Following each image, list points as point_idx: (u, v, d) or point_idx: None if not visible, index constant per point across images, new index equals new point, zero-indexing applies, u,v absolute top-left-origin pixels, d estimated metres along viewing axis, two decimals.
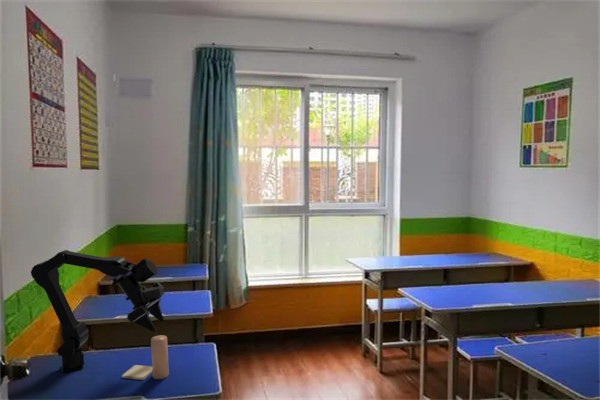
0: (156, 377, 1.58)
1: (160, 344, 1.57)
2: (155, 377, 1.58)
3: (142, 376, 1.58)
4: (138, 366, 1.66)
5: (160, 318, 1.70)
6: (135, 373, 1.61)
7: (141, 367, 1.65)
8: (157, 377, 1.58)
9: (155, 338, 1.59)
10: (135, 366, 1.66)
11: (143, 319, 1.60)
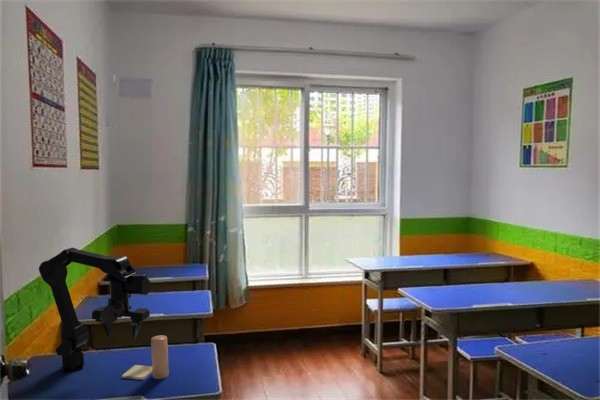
0: (156, 377, 1.58)
1: (160, 344, 1.57)
2: (155, 377, 1.58)
3: (142, 376, 1.58)
4: (138, 366, 1.66)
5: None
6: (135, 373, 1.61)
7: (141, 367, 1.65)
8: (157, 377, 1.58)
9: (155, 338, 1.59)
10: (135, 366, 1.66)
11: None
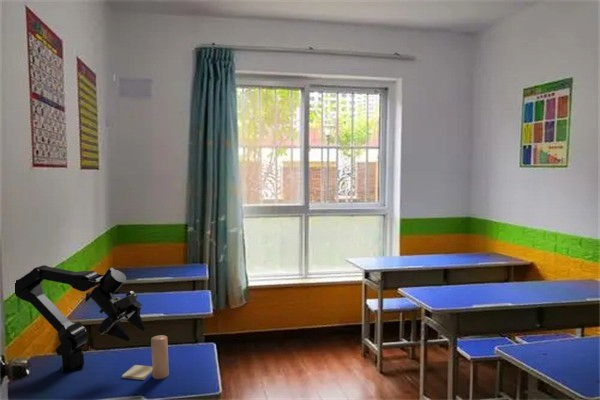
0: (156, 377, 1.58)
1: (160, 344, 1.57)
2: (155, 377, 1.58)
3: (142, 376, 1.58)
4: (138, 366, 1.66)
5: (141, 327, 1.66)
6: (135, 373, 1.61)
7: (141, 367, 1.65)
8: (157, 377, 1.58)
9: (155, 338, 1.59)
10: (135, 366, 1.66)
11: (116, 329, 1.56)
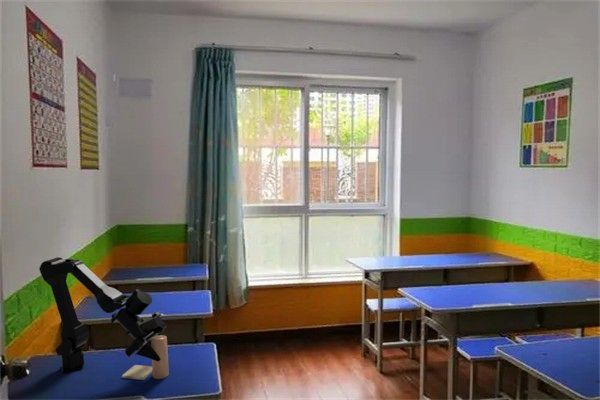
0: (156, 377, 1.58)
1: (160, 344, 1.57)
2: (155, 377, 1.58)
3: (142, 376, 1.58)
4: (138, 366, 1.66)
5: None
6: (135, 373, 1.61)
7: (141, 367, 1.65)
8: (157, 377, 1.58)
9: (155, 338, 1.59)
10: (135, 366, 1.66)
11: (146, 350, 1.56)
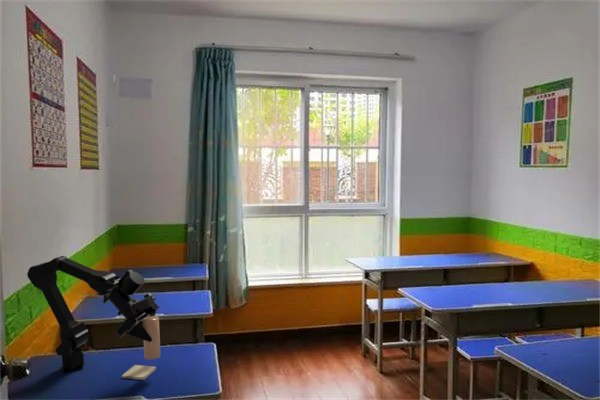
0: (148, 357, 1.58)
1: (152, 324, 1.57)
2: (147, 357, 1.58)
3: (142, 376, 1.58)
4: (138, 366, 1.66)
5: None
6: (135, 373, 1.61)
7: (141, 367, 1.65)
8: (148, 358, 1.58)
9: (147, 319, 1.59)
10: (135, 366, 1.66)
11: (137, 330, 1.56)
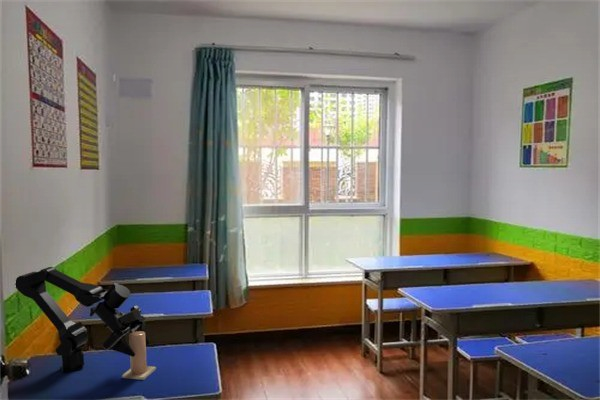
0: (134, 372, 1.60)
1: (138, 340, 1.59)
2: (133, 372, 1.60)
3: (142, 376, 1.58)
4: None
5: None
6: None
7: None
8: (135, 373, 1.60)
9: (133, 334, 1.61)
10: None
11: (120, 345, 1.56)
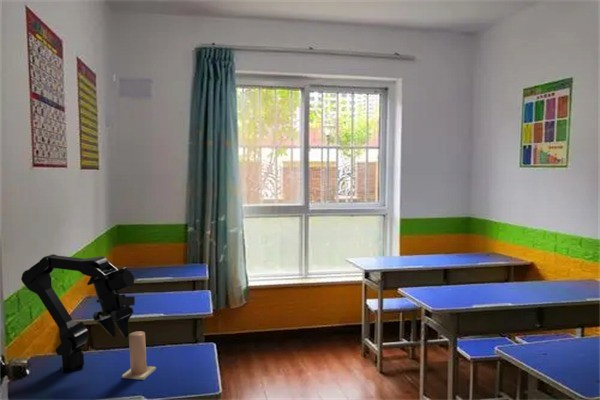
0: (134, 373, 1.60)
1: (137, 340, 1.59)
2: (133, 373, 1.60)
3: (142, 376, 1.58)
4: None
5: (113, 333, 1.66)
6: None
7: None
8: (135, 373, 1.60)
9: (133, 334, 1.61)
10: None
11: (122, 321, 1.58)
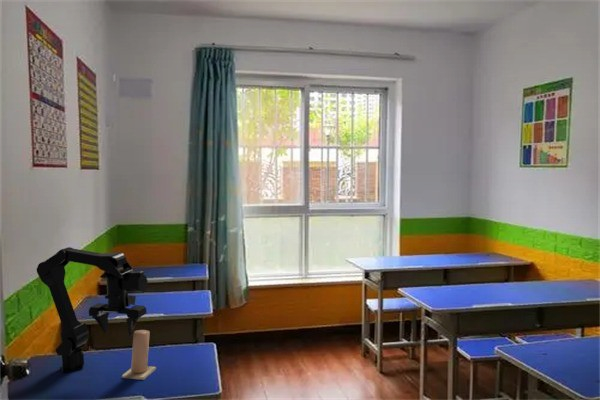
0: (134, 371, 1.60)
1: (142, 337, 1.60)
2: (133, 371, 1.60)
3: (142, 376, 1.58)
4: None
5: (107, 330, 1.63)
6: (135, 373, 1.61)
7: None
8: (135, 371, 1.60)
9: (138, 332, 1.62)
10: None
11: (132, 320, 1.61)
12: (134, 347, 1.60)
